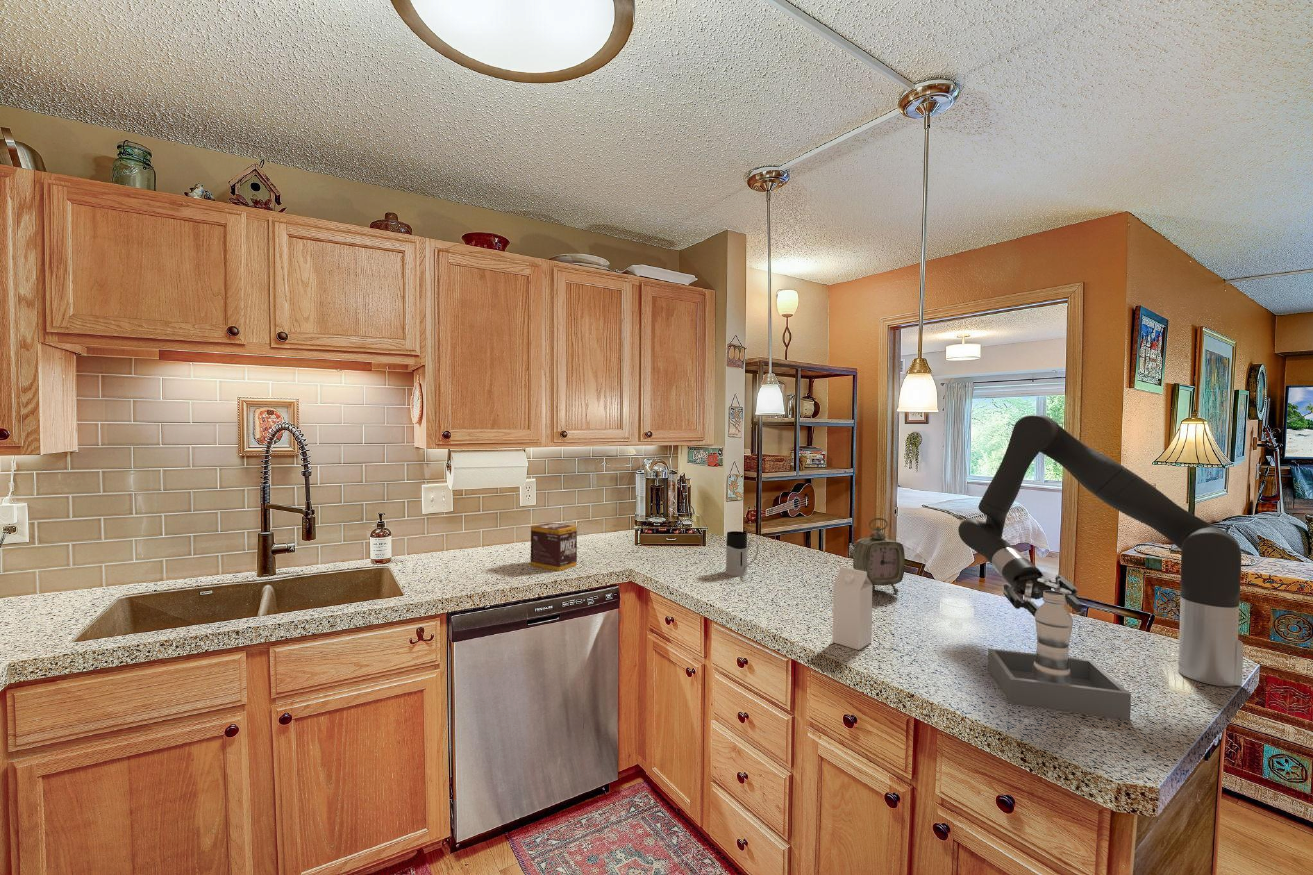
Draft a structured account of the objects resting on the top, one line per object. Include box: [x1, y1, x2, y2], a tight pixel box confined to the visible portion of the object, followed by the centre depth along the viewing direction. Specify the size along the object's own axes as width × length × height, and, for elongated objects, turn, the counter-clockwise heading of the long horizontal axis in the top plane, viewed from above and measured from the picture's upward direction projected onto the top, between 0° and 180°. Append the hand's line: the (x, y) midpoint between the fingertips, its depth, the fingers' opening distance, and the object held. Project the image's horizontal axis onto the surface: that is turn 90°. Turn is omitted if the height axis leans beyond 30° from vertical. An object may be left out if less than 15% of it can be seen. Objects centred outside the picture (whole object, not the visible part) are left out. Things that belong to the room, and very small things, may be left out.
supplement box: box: [529, 522, 578, 572], centre depth 216 cm, size 10×15×16 cm
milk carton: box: [832, 566, 873, 651], centre depth 141 cm, size 7×7×19 cm
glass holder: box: [724, 530, 760, 577], centre depth 205 cm, size 9×14×15 cm, turn 43°
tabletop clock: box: [852, 517, 906, 594], centre depth 185 cm, size 14×9×25 cm, turn 102°
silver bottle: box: [1032, 590, 1074, 684], centre depth 116 cm, size 6×7×20 cm
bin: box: [987, 648, 1132, 721], centre depth 116 cm, size 20×16×5 cm
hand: (1060, 612), depth 126 cm, fingers open, 8 cm apart
